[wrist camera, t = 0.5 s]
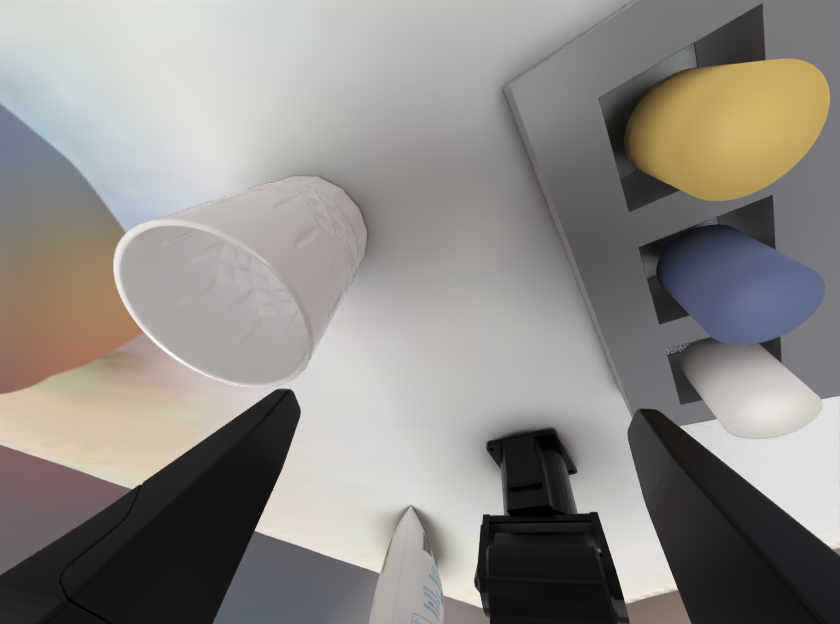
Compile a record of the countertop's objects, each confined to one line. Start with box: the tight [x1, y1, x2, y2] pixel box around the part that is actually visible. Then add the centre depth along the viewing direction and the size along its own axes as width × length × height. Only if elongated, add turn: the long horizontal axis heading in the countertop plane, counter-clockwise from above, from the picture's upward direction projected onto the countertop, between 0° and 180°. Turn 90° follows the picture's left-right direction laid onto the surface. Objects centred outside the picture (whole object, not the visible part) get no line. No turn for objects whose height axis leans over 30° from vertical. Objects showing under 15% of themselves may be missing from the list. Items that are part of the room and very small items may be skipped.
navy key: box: [656, 225, 825, 345], centre depth 14 cm, size 4×4×4 cm
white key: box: [679, 337, 822, 439], centre depth 16 cm, size 4×4×4 cm
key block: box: [502, 0, 840, 426], centre depth 16 cm, size 22×10×4 cm, turn 31°
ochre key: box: [624, 58, 830, 201], centre depth 11 cm, size 4×4×4 cm
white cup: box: [113, 176, 368, 388], centre depth 17 cm, size 8×8×10 cm
